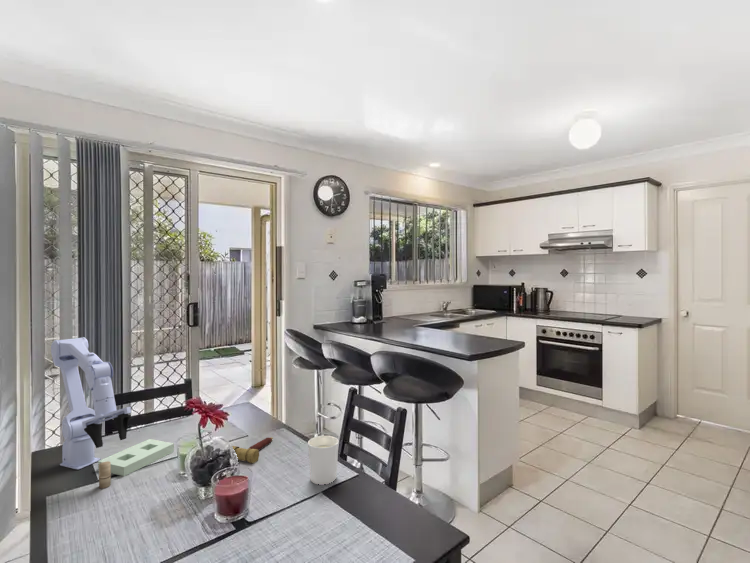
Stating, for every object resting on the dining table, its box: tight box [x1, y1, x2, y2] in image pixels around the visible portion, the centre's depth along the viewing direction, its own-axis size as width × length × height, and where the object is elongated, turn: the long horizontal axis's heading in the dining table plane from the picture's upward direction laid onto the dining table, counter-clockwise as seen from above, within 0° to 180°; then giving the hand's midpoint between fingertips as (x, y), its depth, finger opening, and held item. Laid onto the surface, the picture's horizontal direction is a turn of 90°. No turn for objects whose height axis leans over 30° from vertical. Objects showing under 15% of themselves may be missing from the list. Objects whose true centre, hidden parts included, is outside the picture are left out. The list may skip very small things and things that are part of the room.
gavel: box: [231, 436, 274, 464], centre depth 153 cm, size 21×5×10 cm
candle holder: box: [307, 435, 340, 486], centre depth 132 cm, size 10×10×12 cm
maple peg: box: [98, 461, 112, 490], centre depth 127 cm, size 3×3×7 cm
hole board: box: [97, 438, 175, 477], centre depth 145 cm, size 12×20×3 cm, turn 160°
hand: (111, 443), depth 129 cm, fingers open, 7 cm apart
